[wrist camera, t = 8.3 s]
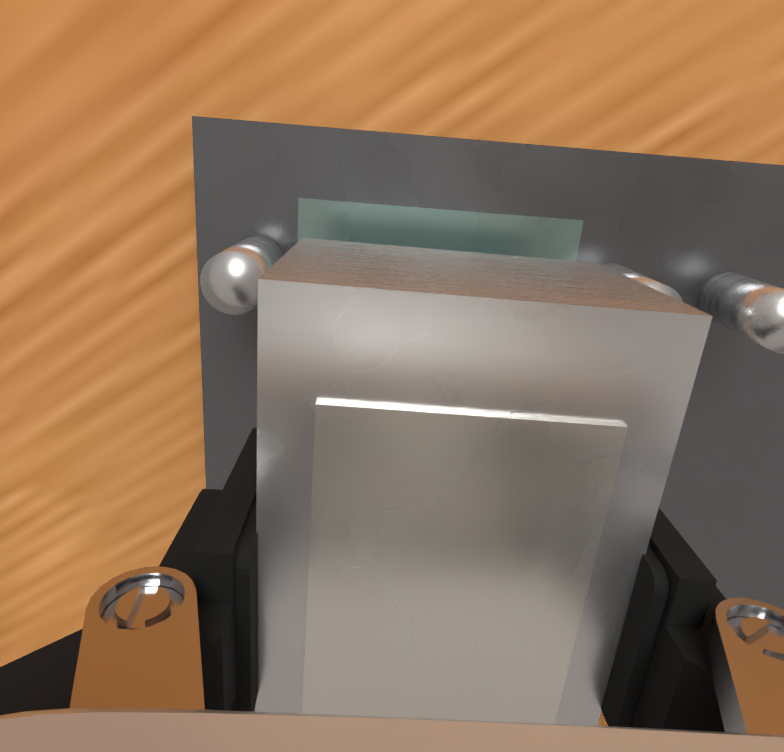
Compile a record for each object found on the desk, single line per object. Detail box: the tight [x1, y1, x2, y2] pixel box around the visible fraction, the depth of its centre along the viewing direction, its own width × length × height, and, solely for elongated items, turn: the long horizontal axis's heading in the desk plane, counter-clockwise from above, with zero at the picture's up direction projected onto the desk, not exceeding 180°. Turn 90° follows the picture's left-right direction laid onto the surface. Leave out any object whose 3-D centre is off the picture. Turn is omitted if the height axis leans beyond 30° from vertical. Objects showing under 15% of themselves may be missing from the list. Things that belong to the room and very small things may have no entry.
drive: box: [255, 238, 713, 726], centre depth 11 cm, size 6×10×4 cm, turn 175°
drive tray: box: [192, 116, 784, 610], centre depth 15 cm, size 22×14×4 cm, turn 86°
